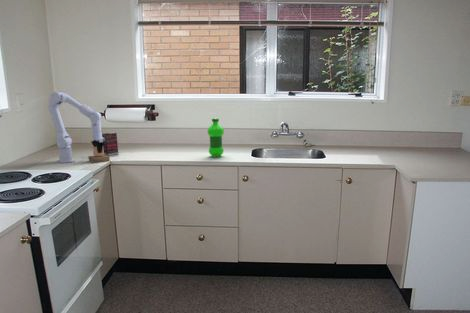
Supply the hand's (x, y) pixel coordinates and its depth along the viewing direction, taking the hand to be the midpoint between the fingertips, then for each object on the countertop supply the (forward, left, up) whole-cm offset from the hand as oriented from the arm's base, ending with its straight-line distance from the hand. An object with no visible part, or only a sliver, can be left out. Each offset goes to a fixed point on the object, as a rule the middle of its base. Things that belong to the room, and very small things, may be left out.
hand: (98, 152), depth 248 cm
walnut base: (0, 0, -6) cm, 6 cm away
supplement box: (-12, +12, -6) cm, 18 cm away
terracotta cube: (0, 0, -2) cm, 2 cm away
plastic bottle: (+38, +65, -6) cm, 76 cm away
